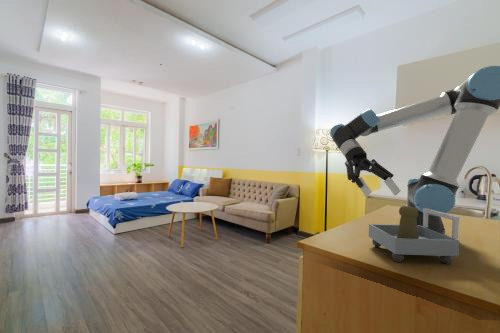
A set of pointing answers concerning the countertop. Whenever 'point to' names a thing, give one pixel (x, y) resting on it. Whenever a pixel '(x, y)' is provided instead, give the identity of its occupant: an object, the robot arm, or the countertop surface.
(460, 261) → the countertop surface
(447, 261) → the cart
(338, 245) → the countertop surface
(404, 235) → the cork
